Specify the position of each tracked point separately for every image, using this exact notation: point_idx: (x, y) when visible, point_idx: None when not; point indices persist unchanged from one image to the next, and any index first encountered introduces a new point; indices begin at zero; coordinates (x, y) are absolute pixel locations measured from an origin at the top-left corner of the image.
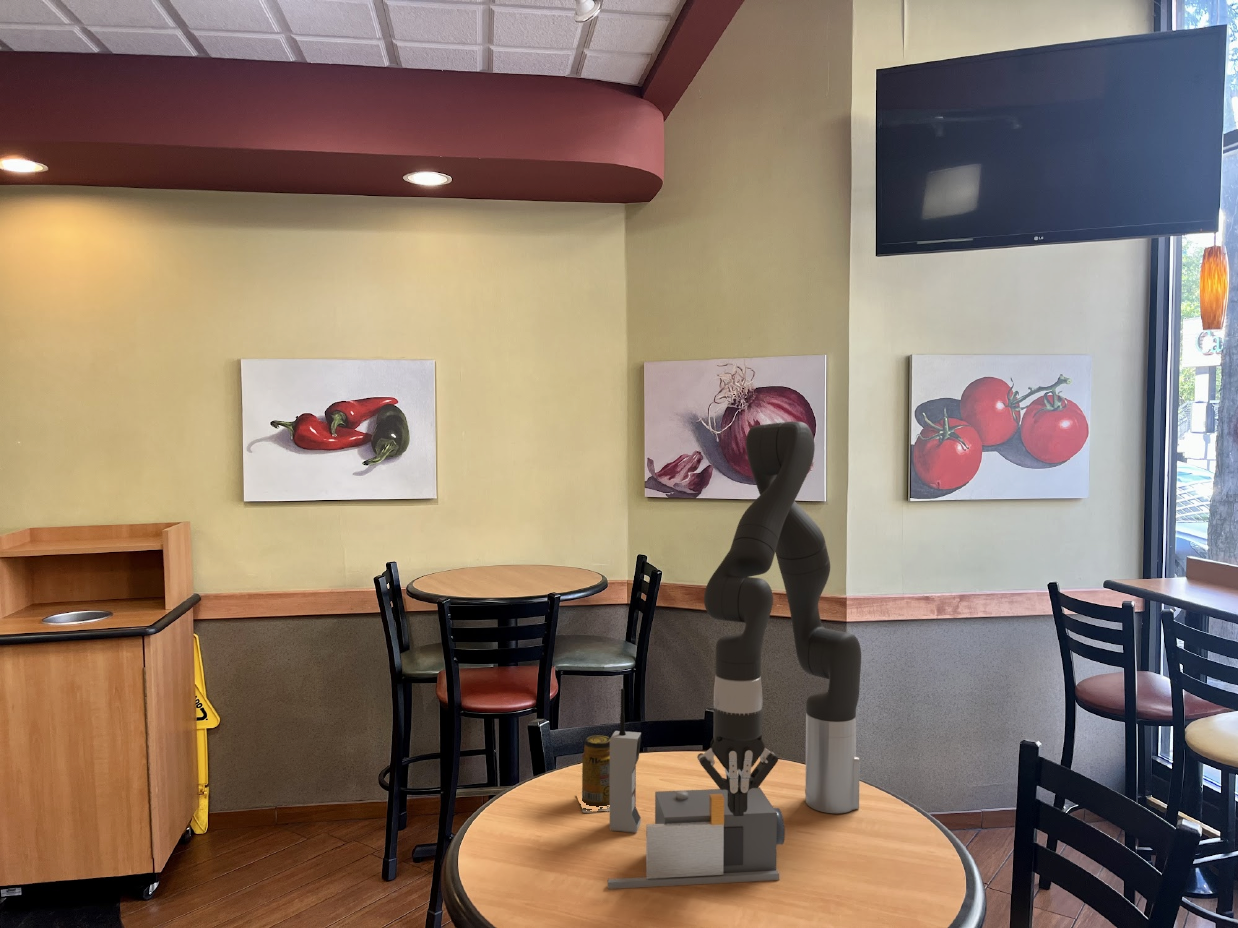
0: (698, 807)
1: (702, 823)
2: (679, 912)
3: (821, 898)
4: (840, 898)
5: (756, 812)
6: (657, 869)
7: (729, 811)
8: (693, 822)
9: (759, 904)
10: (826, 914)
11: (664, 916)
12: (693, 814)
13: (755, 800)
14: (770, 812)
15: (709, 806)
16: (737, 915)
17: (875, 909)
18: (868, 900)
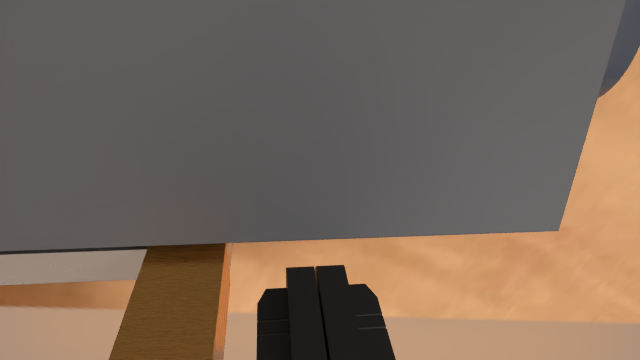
0: (76, 129)
1: (107, 268)
2: (82, 284)
3: (510, 241)
4: (560, 244)
5: (445, 222)
6: None
7: (285, 202)
8: (52, 253)
9: (325, 259)
10: (481, 305)
11: (36, 299)
12: (40, 226)
13: (518, 54)
14: (523, 227)
15: (131, 299)
16: (249, 301)
17: (611, 291)
18: (624, 256)
